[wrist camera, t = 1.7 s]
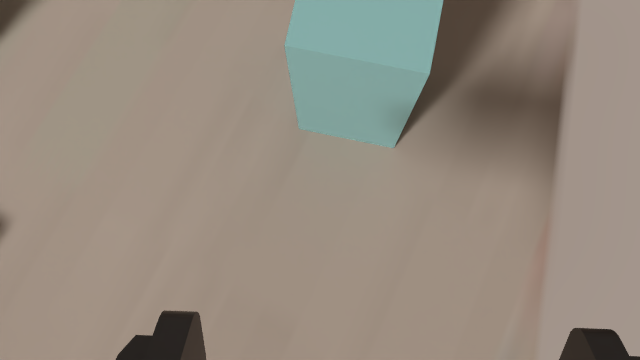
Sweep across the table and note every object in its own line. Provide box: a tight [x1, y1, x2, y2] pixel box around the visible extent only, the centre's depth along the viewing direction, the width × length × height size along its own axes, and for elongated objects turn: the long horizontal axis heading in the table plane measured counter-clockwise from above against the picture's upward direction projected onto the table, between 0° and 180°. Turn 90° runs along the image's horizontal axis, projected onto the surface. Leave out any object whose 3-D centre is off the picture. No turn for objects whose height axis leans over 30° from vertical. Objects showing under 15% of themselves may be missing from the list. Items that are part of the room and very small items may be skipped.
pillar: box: [284, 0, 443, 148], centre depth 24 cm, size 5×5×10 cm
